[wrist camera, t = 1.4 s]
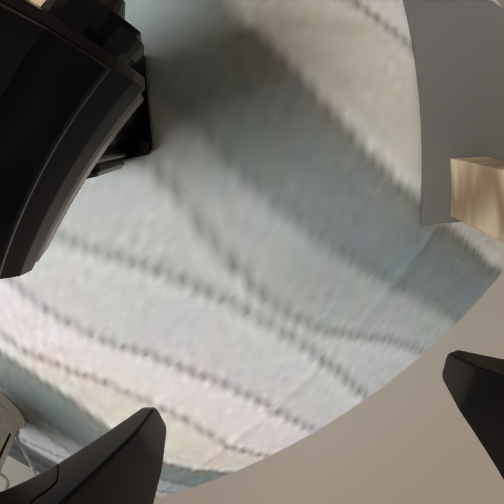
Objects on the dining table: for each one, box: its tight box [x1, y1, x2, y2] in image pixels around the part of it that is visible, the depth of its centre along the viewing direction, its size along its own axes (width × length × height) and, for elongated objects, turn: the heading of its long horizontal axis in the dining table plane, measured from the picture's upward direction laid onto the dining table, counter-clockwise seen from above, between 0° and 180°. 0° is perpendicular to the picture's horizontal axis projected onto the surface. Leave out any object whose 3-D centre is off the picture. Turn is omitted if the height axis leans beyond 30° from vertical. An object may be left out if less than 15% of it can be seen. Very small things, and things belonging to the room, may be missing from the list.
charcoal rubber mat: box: [403, 0, 504, 225], centre depth 16 cm, size 22×14×1 cm, turn 5°
